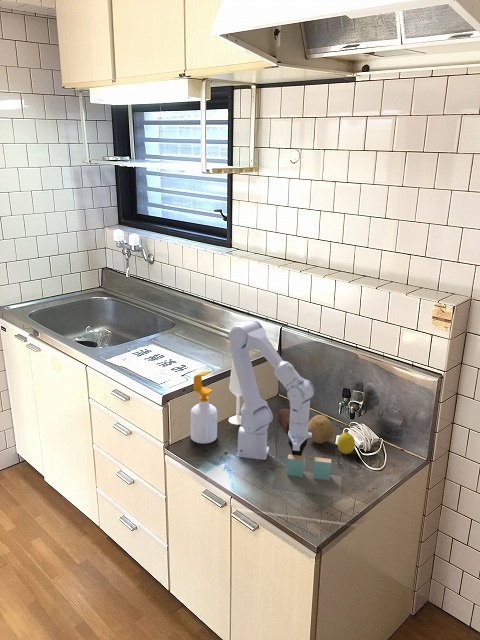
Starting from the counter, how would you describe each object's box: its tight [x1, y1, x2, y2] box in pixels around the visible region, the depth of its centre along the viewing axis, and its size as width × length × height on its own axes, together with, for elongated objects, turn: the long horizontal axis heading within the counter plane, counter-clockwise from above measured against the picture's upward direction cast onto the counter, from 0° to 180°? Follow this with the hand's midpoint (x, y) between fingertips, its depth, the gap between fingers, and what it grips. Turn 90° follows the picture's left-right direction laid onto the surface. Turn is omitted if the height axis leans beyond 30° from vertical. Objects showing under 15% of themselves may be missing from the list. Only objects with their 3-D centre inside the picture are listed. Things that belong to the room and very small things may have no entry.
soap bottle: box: [190, 370, 218, 445], centre depth 188 cm, size 9×9×25 cm
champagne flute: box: [228, 359, 243, 425], centre depth 201 cm, size 7×7×24 cm
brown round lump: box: [308, 414, 335, 444], centre depth 190 cm, size 9×9×10 cm
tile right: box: [312, 456, 332, 480], centre depth 169 cm, size 5×2×6 cm, turn 79°
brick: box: [277, 408, 290, 434], centre depth 200 cm, size 11×4×5 cm, turn 13°
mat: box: [272, 467, 342, 498], centre depth 167 cm, size 20×11×1 cm, turn 79°
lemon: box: [337, 432, 356, 455], centre depth 183 cm, size 6×6×8 cm
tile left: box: [286, 454, 306, 477], centre depth 170 cm, size 5×2×6 cm, turn 79°
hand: (296, 459), depth 172 cm, fingers closed
